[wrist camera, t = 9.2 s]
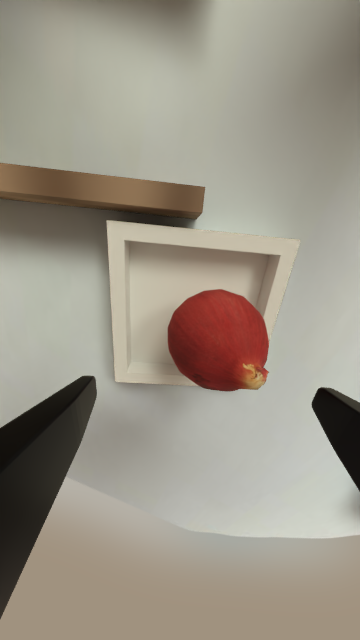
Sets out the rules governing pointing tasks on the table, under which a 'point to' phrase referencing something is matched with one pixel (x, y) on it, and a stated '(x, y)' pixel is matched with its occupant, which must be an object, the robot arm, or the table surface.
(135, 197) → the bay
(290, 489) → the table surface
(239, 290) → the tray
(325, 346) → the table surface
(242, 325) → the onion
